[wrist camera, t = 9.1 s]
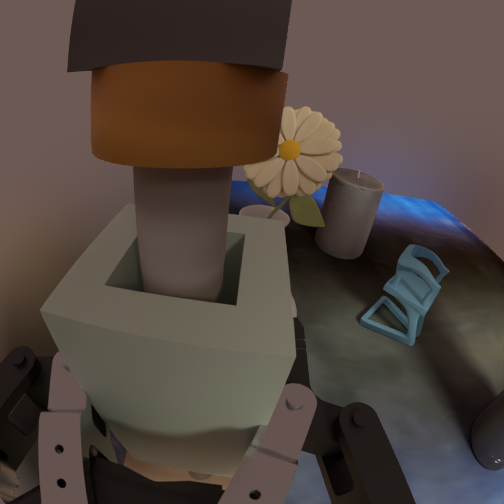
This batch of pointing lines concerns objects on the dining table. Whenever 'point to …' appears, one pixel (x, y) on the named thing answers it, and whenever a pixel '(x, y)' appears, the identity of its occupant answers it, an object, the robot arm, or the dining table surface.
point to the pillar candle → (348, 213)
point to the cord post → (182, 128)
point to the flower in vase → (296, 169)
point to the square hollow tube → (179, 346)
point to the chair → (409, 294)
